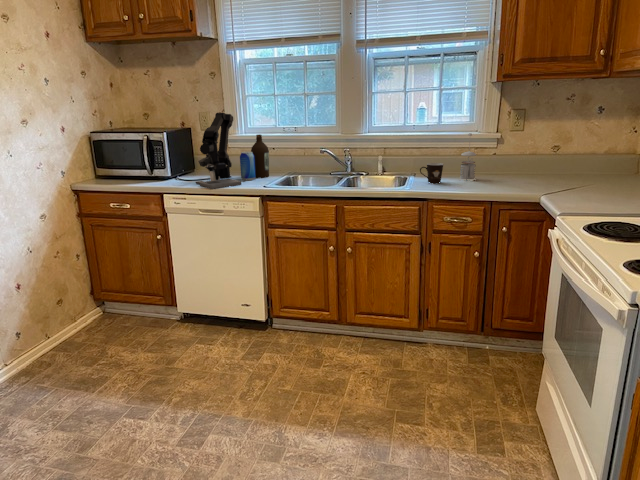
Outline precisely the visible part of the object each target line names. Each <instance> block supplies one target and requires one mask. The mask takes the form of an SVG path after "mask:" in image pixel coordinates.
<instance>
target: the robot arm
mask: <svg viewBox="0 0 640 480" xmlns="http://www.w3.org/2000/svg"><path fill="white" fill-rule="evenodd" d="M233 122H234V115H232V114H231V113H225V112H216V113H215V117H214V118H213V120H212V122H211V124H210V126H209V127H207V128H206V129H205V130H204V132H203V134H202V140H201V143H202V144H201V145H200V147H199V151H200V153H201V154H202V155H205V157H203V158H201V159H200V160H198V164H199V166H200V167H203V168H204V167H205V169H207V170H208V172H209V173H210V171H214V172H215V177H216V180H218V179H219V176H220V179H228V178H229V179H230V178H232V177H233V176H232V175H231V171H230V168H232V165H233V164H232V162H231V159H230V155H229V154H228V152H227V151H228V144H229V143H228V142H229V132H230V128H231V127H232V126H233ZM219 130H220V134H219ZM218 139H219V142H218Z"/></svg>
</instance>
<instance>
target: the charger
mask: <svg viewBox="0 0 640 480" xmlns="http://www.w3.org/2000/svg"><path fill="white" fill-rule="evenodd" d="M209 179H210V180H209V181H214V180H216V177H215V172H214V171H210V172H209ZM218 180H221V178H220V176H219V179H218Z"/></svg>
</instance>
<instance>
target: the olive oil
mask: <svg viewBox="0 0 640 480" xmlns="http://www.w3.org/2000/svg"><path fill="white" fill-rule="evenodd" d="M255 136H256V138H255V139H256V141H255V143H254V144H253V145H252V146H251V149H250V152H252V153H253V155H254V159H255V175H256V177H255V179H263V178H269V177H270V149H269V147H268V146H267V144H266V143H265V142H264V141H263V136H262V134H256V135H255Z"/></svg>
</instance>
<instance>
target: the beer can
mask: <svg viewBox="0 0 640 480" xmlns="http://www.w3.org/2000/svg"><path fill="white" fill-rule="evenodd" d="M239 167H240V177H241V179H242V181H244V182H245V181H255V179H256V178H255V177H256V175H255V159H254V155H253V153H252V152H251V151H241V152H240V155H239Z"/></svg>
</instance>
